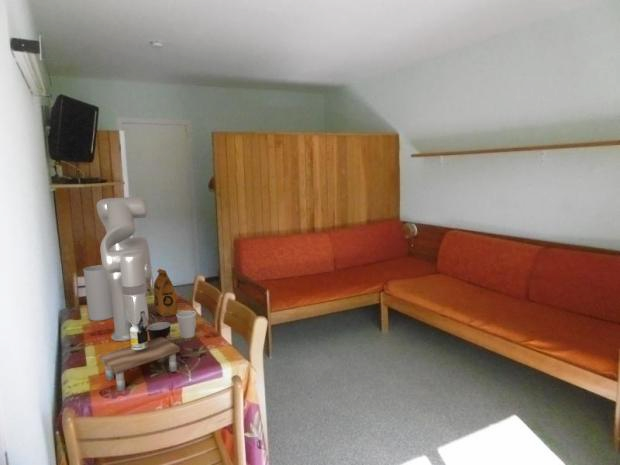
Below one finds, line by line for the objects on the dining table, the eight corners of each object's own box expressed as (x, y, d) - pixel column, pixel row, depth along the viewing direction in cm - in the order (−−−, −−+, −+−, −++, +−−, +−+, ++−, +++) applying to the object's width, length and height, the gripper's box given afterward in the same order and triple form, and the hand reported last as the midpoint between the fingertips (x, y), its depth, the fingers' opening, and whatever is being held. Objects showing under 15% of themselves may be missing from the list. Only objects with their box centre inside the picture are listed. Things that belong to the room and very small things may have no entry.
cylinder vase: (122, 315, 205) (117, 266, 202) (98, 323, 195) (92, 271, 191) (107, 311, 212) (102, 263, 208) (83, 318, 201) (78, 269, 198)
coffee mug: (159, 356, 157) (157, 331, 156) (144, 351, 162) (142, 327, 160) (183, 345, 167) (181, 321, 165) (169, 341, 171) (167, 318, 170)
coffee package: (158, 318, 199) (155, 274, 195) (153, 311, 209) (150, 269, 206) (179, 314, 204) (176, 271, 200) (173, 308, 214) (170, 266, 211)
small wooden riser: (102, 379, 141) (99, 355, 139) (163, 357, 156) (161, 336, 155) (117, 394, 131) (114, 369, 130) (181, 369, 146) (179, 347, 145)
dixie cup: (174, 339, 173) (173, 317, 171) (181, 332, 181) (180, 310, 180) (194, 339, 173) (192, 316, 171) (200, 331, 181) (198, 310, 179)
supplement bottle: (136, 351, 138) (133, 324, 137) (128, 347, 142) (126, 321, 140) (151, 346, 142) (148, 320, 141) (143, 342, 146) (141, 316, 144)
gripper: (113, 286, 142) (118, 336, 145) (133, 297, 130) (138, 350, 133) (135, 282, 148) (140, 330, 150) (156, 291, 135) (160, 343, 138)
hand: (139, 339), depth 142 cm, fingers open, 5 cm apart
